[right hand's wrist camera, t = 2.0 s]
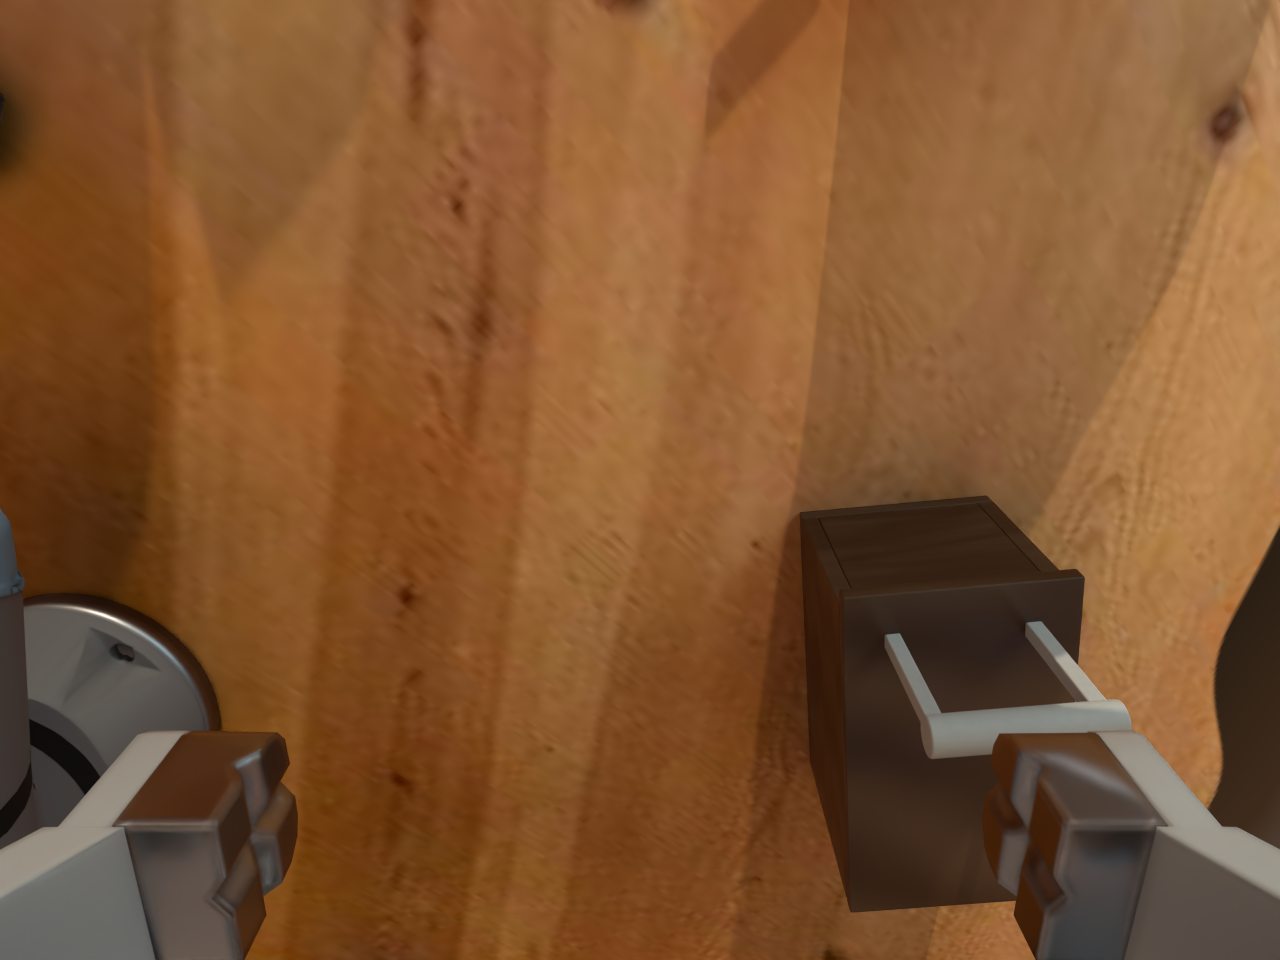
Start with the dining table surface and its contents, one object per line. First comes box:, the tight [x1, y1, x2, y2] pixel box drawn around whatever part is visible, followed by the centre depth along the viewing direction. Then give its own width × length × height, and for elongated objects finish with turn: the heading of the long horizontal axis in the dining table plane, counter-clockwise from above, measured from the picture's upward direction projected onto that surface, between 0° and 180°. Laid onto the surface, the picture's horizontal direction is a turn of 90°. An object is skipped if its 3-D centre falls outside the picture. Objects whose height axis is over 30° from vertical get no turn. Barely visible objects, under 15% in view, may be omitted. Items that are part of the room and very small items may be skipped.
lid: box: [839, 569, 1132, 912], centre depth 39 cm, size 18×10×8 cm, turn 6°
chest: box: [800, 496, 1059, 897], centre depth 48 cm, size 17×10×11 cm, turn 6°
